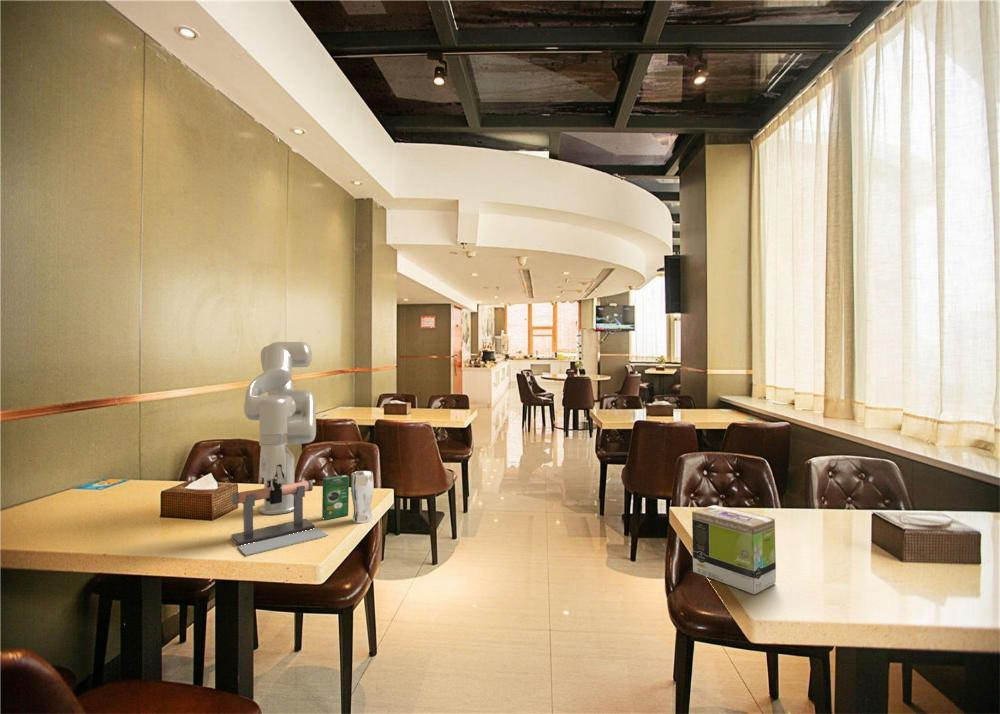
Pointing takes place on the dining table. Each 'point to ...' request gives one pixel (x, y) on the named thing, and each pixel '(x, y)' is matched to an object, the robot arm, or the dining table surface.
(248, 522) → the hook stand
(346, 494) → the coffee box
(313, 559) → the dining table surface
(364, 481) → the beer glass
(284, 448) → the robot arm
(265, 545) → the mat
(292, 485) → the rod
